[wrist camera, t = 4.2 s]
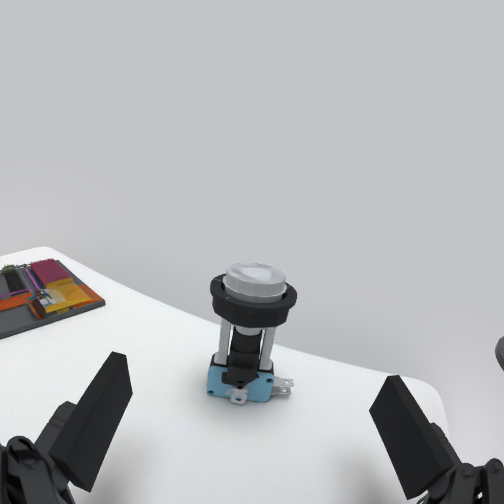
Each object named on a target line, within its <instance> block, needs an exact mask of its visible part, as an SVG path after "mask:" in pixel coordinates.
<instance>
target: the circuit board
mask: <svg viewBox="0 0 504 504" xmlns="http://www.w3.org/2000/svg"><path fill="white" fill-rule="evenodd" d="M47 260H48V261H47ZM47 260H44V261H43V260H42V261H43V262H42V261H41V260H40V261H38V262H37V263H36V262H33V263H34V264H33V263H32V262H31V264H28V265H31V266H28V265H27V264H24V265H20V266H17V265H16V266H14V264H13V265H9V266H5V265H4V266H5V267H4V268H3V267H2V269H3V270H0V272H1V273H0V339H2V338H5V337H8V336H11V335H14V334H18V333H21V332H24V331H27V330H30V329H33V328H36V327H39V326H42V325H45V324H49V323H52V322H55V321H58V320H61V319H64V318H67V317H70V316H73V315H76V314H79V313H82V312H85V311H88V310H92V309H95V308H98V307H101V306H104V305H105V300H104V299H102V298H101V297H100V296H99V295H98V294H96V293H95V292H94V291H93V290H91V289H90V288H89V287H88V286H87V285H86V284H84V283H83V282H82V281H81V280H80V279H79V278H77V277H76V276H75V275H74V274H73V273H72V272H71V271H70V270H68V269H67V268H66V267H65V266H64V265H63V264H62V263H61V262H60V261H59V260H56V261H55V260H54V259H53V258H52V259H47ZM7 265H8V264H7ZM26 266H28V267H26ZM9 267H12V268H9ZM20 267H24V268H20ZM16 268H18V269H16Z"/></svg>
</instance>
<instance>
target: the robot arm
mask: <svg viewBox="0 0 504 504" xmlns="http://www.w3.org/2000/svg"><path fill="white" fill-rule="evenodd" d="M132 394H133V392H132V387H131V382H130V376H129V371H128V365H127V358H126V355H124V354H120V353H116V352H113V351H112V352H111V354H110V355H109V357H108V358H107V360H106V361H105V362H104V364H103V365H102V367H101V368H100V370H99V371H98V373H97V374H96V376H95V377H94V379H93V380H92V382H91V383H90V385H89V386H88V388H87V389H86V391H85V393H84V394H83V396H82V397H81V399H80V400H79V402H78V404H77V405H76V404H73V403H71V402H69V401H66V402H65V403H63V404H62V405H60V406H59V407H58V408H57V409H56V411H55V412H54V414H53V417H51V418H50V420H49V423H47V425H46V426H45V428H44V429H43V431H42V432H41V434H40V436H39V437H38V439H37V440H36V442H35V444H33V443H32V442H31V441H30V440H29V439H28V438H26V437H24V436H15V437H13V438H11V439H10V440H9V441H8V443H7V446H6V447H4V446H2V445H1V444H0V504H75V501H74V499H73V497H72V494H71V492H70V490H69V487H68V486H67V484H68V482H69V480H70V481H71V482H72V483H73V485H75V486H77V487H79V488H81V489H83V490H85V491H88V492H91V490H92V487H93V484H94V482H95V479H96V477H97V474H98V472H99V469H100V467H101V465H102V462H103V460H104V457H105V455H106V453H107V450H108V448H109V446H110V443H111V441H112V439H113V436H114V434H115V432H116V429H117V427H118V425H119V423H120V420H121V418H122V416H123V414H124V412H125V409H126V407H127V405H128V403H129V401H130V399H131V396H132ZM369 412H370V414H371V416H372V418H373V421H374V423H375V425H376V427H377V429H378V432H379V434H380V436H381V439H382V441H383V443H384V445H385V448H386V450H387V452H388V455H389V457H390V459H391V462H392V464H393V466H394V469H395V471H396V474H397V476H398V478H399V481H400V483H401V486H402V488H403V491H404V493H405V496H406V498H407V500H409V499H412V498H414V497H417V496H420V495H421V494H422V493H423V492H425V491H426V490H428V492H429V493H428V494H426V495H425V496H424V497H423V498H421V499H420V500H419V501H418V502H417V504H419V503H421V502H422V501H423V500H424V502H423V503H422V504H504V466H503V464H502V462H501V461H500V460H498V459H496V458H493V459H491V460H490V461H488V462H487V464H485V465H484V466H478V467H474V466H473V465H471V464H469V463H462V462H461V461H460V459H459V457H458V456H457V454H456V452H455V451H454V449H453V447H452V446H451V444H450V442H448V439H447V437H445V434H444V433H443V431H442V429H441V428H440V427H439V426H437V425H436V424H435V423H429V421H428V419H427V418H426V416H425V415H424V413H423V411H422V410H421V408H420V407H419V405H418V404H417V402H416V400H415V399H414V397H413V396H412V394H411V393H410V391H409V390H408V388H407V387H406V385H405V384H404V382H403V381H402V379H401V378H400V376H399V375H393V376H387V378H386V380H385V382H384V384H383V386H382V388H381V390H380V392H379V394H378V396H377V397H376V399H375V401H374V403H373V405H372V406H371V408H370V410H369ZM481 492H482V497H481V498H478V494H480V493H481Z"/></svg>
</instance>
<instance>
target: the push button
mask: <svg viewBox="0 0 504 504" xmlns="http://www.w3.org/2000/svg"><path fill="white" fill-rule="evenodd" d="M285 279H286V277H285V274H283V273H282V272H281V271H279V270H278V269H275V268H273V267H270V266H267V265H262V264H257V263H237V264H232V265H231V266H229V267H228V268H227V273H226V274H222V275H219V276H217V277H215V278H214V279H213V280H212V281H211V285H210V292H211V294H212V296H213V303H212V305H213V309H214V311H215V313H216V314H218V315H219V316H221V317H222V322H221V331H220V342H219V352H217V353H215V354H213V356H212V360H211V363H210V367H209V371H208V382H207V393H208V394H209V395H211V396H220V397H226V398H231V402H232V403H236V404H245V403H246V400H250V401H259V402H267V401H268V400H269V398H270V395H277V394H288V395H290V394H291V388H290V387H280V386H291V387H293V386H294V384H293V380H292V379H281V378H279V377H274V371H273V362H272V360H271V359H270V354H271V349H272V345H273V340H274V335H275V330H276V327H277V326H279V325H281V324H283V323H284V322H286V319H287V315H288V312H289V309H290V308H292V307H293V306H294V305H295V303H296V299H297V292H296V290H295V289H294V288H293V287H292V286H290V285H289V284H288V283H286V282H285ZM231 324H232V325H234V329H233V336H232V340H231V346H230V353H229V355H228V347H229V338H230V329H231ZM264 329H265V334H264V339H263V344H262V349H261V354H260V342H261V337H262V330H264ZM259 356H260V359H259ZM285 381H288V382H289V384H286V383H284V382H285ZM283 389H285V390H287V392H283V391H282V390H283ZM236 399H241V400H240V401H238V400H236Z"/></svg>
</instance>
